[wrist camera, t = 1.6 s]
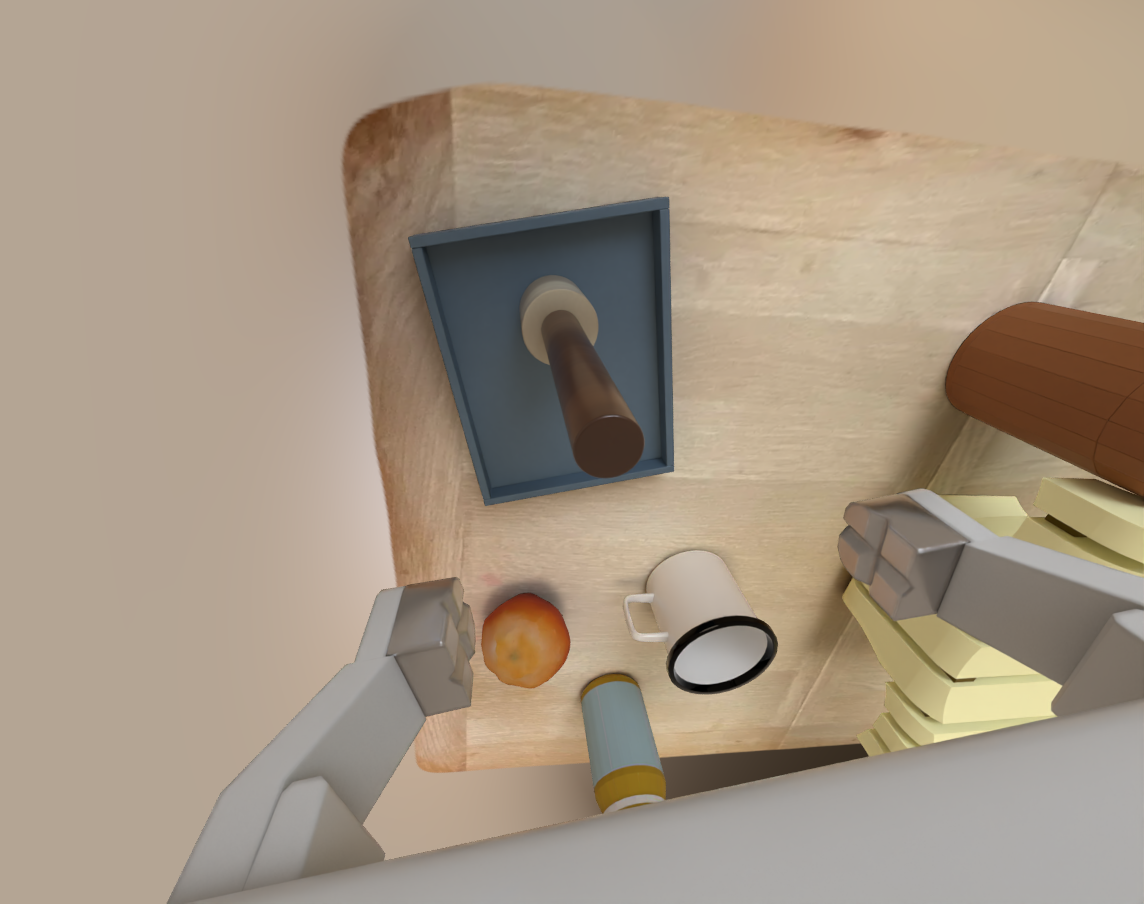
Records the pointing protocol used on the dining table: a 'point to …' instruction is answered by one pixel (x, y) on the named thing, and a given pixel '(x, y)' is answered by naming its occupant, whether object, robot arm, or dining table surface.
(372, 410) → the dining table surface
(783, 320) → the dining table surface
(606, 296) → the tray
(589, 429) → the bottle brush
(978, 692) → the slatted curved stool
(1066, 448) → the terracotta utensil crock
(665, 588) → the mug
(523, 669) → the fruit
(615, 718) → the bottle
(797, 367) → the dining table surface
